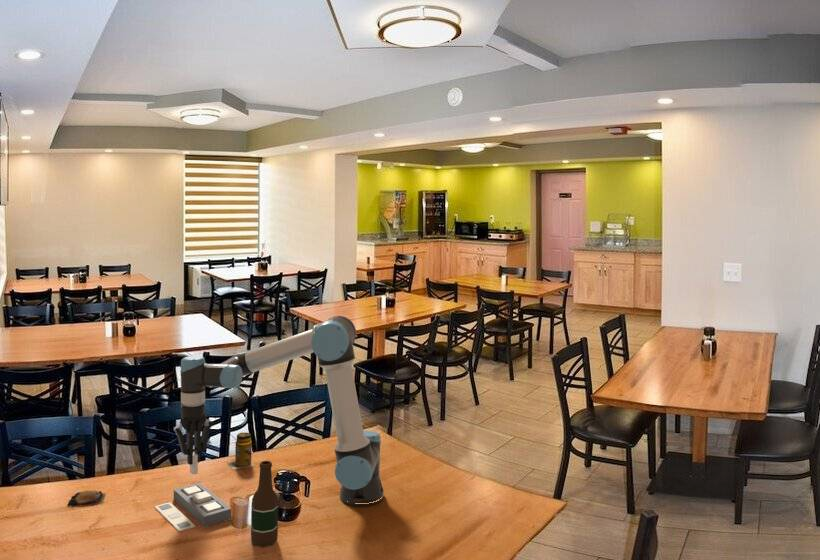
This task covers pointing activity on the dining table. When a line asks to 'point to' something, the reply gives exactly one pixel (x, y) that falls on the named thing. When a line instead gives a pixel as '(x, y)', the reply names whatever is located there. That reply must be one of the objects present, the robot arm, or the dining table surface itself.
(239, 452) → the condiment
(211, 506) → the button
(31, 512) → the dining table surface
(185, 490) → the button
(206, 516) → the console
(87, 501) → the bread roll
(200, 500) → the middle button
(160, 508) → the pattern card
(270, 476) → the beer bottle
